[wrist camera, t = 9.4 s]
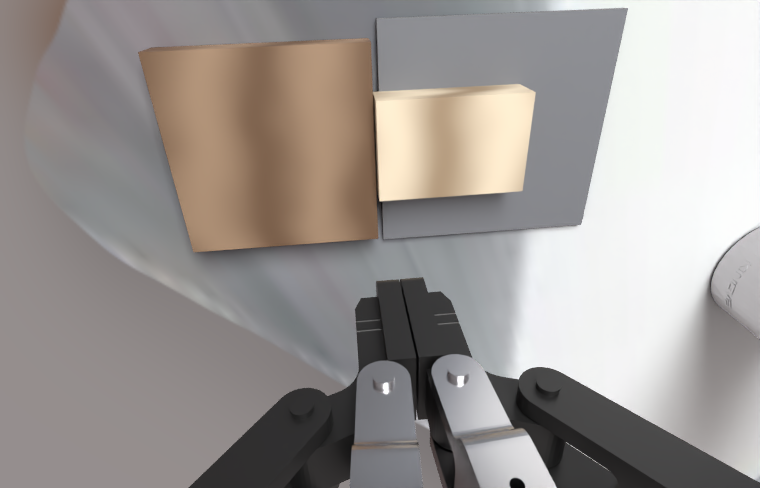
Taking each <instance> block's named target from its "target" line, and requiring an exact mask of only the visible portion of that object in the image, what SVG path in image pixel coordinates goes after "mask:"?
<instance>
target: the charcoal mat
mask: <svg viewBox="0 0 760 488" xmlns="http://www.w3.org/2000/svg"><path fill="white" fill-rule="evenodd" d="M627 10H628V8H614V9H589V10H565V11H540V12H516V13H492V14H467V15H443V16H418V17H394V18H376V32H377V64H378V92H381V91H399V90H418V89H436V88H454V87H473V86H491V85H509V84H521V85H523V86H524V87H526V88H528V89H530V90H532V91H534V92H536V94H535V102H534V109H533V117H532V124H531V131H530V139H529V146H528V154H527V161H526V169H525V176H524V183H523V191H519V192H505V193H491V194H476V195H462V196H448V197H434V198H420V199H406V200H392V201H382V222H383V239H395V238H409V237H422V236H435V235H449V234H462V233H475V232H489V231H502V230H516V229H529V228H542V227H556V226H569V225H581V223H582V219H583V214H584V209H585V205H586V200H587V195H588V191H589V186H590V182H591V177H592V172H593V168H594V163H595V158H596V154H597V149H598V144H599V140H600V135H601V131H602V126H603V121H604V117H605V112H606V107H607V103H608V98H609V94H610V89H611V84H612V80H613V75H614V70H615V66H616V61H617V57H618V52H619V47H620V43H621V38H622V33H623V29H624V24H625V20H626V15H627Z"/></svg>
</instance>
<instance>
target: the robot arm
mask: <svg viewBox="0 0 760 488" xmlns="http://www.w3.org/2000/svg"><path fill="white" fill-rule="evenodd" d="M376 292H377V297H371V298H361V300H360V301H359V303H358V305H357V307H356V309H355V313H356V329H357V344H358V360H359V372H358V375H357V377H356V379H355V380H354V382H353V383H352V384H351V385H350V386H348V387H347V388H346V389H344V390H342V391H340V392H338V393H335V394H332V395H330V396H326V395H325V394H324V393H323V392H321V391H319V390H317V389H312V388H302V389H297V390H294V391H292V392H290V393H288V394H286V395H285V396H284V397H282V398H281V399H280V400H279V401H278V402H277V403H276V404H275V405H274V406H273V407H272V408H271V409H270V410H269V411H268V412H267V413H266V414H265V415H264V416H262V418H260V420H258V421H257V422H256V423H255V424H254V425H253V426H252V427H251V428H250V429H249V430H248V431H247V432H246V433H245V434H244V435H243V436H242V437H241V438H240V439H239V440H238V441H237V442H236V443H234V444H233V445H232V446H231V447H230V448H229V449H228V450H227V451H226V452H225V453H224V454H223V455H222V456H221V457H220V458H219V459H218V460H217V461H216V462H215V463H214V464H213V465H212V466H211V467H210V468H209V469H208V470H207V471H206V472H204V473H203V474H202V475H201V476H200V477H199V478H198V479H197V480H196V481H195V482H194V483H193V484H192V485H191V486H190V487H189V488H338V487H339V484H340V483H341V482H343V481H346V480H348V479H350V488H423V482H422V471H421V462H420V451H419V444H418V442H417V439H416V429H415V420H416V410H417V415H418V420H421V419H428V423H429V428H430V447H431V450H432V453H433V457H434V460H435V464H436V467H437V470H438V473H439V477H440V480H441V484H442V487H443V488H760V483H759V482H757V481H755V480H753V479H752V478H750V477H748V476H746V475H744V474H743V473H741V472H739V471H737V470H735V469H734V468H732V467H730V466H728V465H726V464H725V463H723V462H721V461H719V460H717V459H716V458H714V457H712V456H710V455H708V454H707V453H705V452H703V451H701V450H699V449H698V448H696V447H694V446H692V445H690V444H689V443H687V442H685V441H683V440H681V439H680V438H678V437H676V436H674V435H672V434H671V433H669V432H667V431H665V430H663V429H662V428H660V427H658V426H656V425H654V424H653V423H651V422H649V421H647V420H645V419H644V418H642V417H640V416H638V415H636V414H635V413H633V412H631V411H629V410H627V409H626V408H624V407H622V406H620V405H618V404H617V403H615V402H613V401H611V400H609V399H608V398H606V397H604V396H602V395H600V394H599V393H597V392H595V391H593V390H591V389H590V388H588V387H586V386H584V385H582V384H581V383H579V382H577V381H575V380H573V379H572V378H570V377H568V376H566V375H564V374H563V373H561V372H559V371H556V370H554V369H550V368H544V367H536V368H531V369H528V370H526V371H525V372H523V373H522V375H521V376H520V378H519V380H518V379H512V378H506V377H500V376H496V375H493V374H490V373H488V372H486V371H485V370H484V369H483V367H482V365H481V364H480V363H479V362H477V361H476V360H475V359H473V358H472V356H471V353H470V351H469V348H468V345H467V343H466V340H465V337H464V335H463V332H462V329H461V327H460V324H459V322H458V319H457V316H456V314H455V311H454V308H453V305H452V303H451V301H450V300H449V299H448V298H447V297H446V296H445V295H444V294H443V293H442V292H430V293H428V292H427V288H426V285H425V282H424V279H423V277H422V278H410V279H400V282H399V279H398V280H386V281H376ZM711 293H712V296H713V299H714V300H715V302H716V303H717V305H719V306H720V307H721V308H722V309H723V310H725V311H726V312H727V313H728V314H729V315H731V316H732V317H733V318H734V319H736V320H737V321H738V322H739V323H740V324H742V325H743V326H744V327H745V328H747V329H748V330H749V331H750V332H751V333H753V334H754V335H755V336H756V337H757V338H758V339H759V340H760V227H759V228H757V229H756V230H754V231H752V232H751V233H749V234H747V235H746V236H745V237H743V238H742V239H741V240H739V241H738V242H737V243H736V244H735V245H734V246H733V247H732V248H731V249H730V250H729V251H728V252H727V253H726V254H725V256H724V257H723V258H722V260H721V261H720V262H719V264H718V266H717V268H716V270H715V272H714V275H713V278H712V282H711ZM566 442H567V443H569V444H570V445H572V446H573V447H575V448H576V449H578V450H579V451H578V450H576V449H575V448H573V447H572V446H570V445H569V444H567V443H566ZM580 451H581V452H582V453H581V452H580ZM583 453H584V454H585V455H584V454H583ZM586 455H587V456H588V457H587V456H586ZM589 457H590V458H591V459H590V458H589ZM592 459H593V460H595V461H596V462H598V463H599V464H601V465H602V466H604V467H605V468H607V469H608V470H609V471H608V470H607V469H605V468H604V467H602V466H601V465H599V464H598V463H596V462H595V461H593V460H592Z"/></svg>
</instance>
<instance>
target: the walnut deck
mask: <svg viewBox="0 0 760 488" xmlns="http://www.w3.org/2000/svg"><path fill="white" fill-rule="evenodd" d="M138 54H139V57H140V61H141V64H142V68H143V72H144V75H145V79H146V82H147V86H148V90H149V93H150V97H151V100H152V104H153V108H154V111H155V115H156V119H157V122H158V126H159V129H160V133H161V137H162V140H163V144H164V147H165V151H166V155H167V158H168V162H169V165H170V169H171V173H172V176H173V180H174V183H175V187H176V191H177V194H178V198H179V202H180V205H181V209H182V212H183V216H184V220H185V223H186V227H187V230H188V234H189V238H190V241H191V245H192V248H193V252H204V251H217V250H231V249H244V248H258V247H271V246H284V245H298V244H311V243H325V242H338V241H352V240H365V239H378V221H377V195H376V168H375V142H374V115H373V89H372V63H371V42H370V40H369V39H368V38H360V39H337V40H315V41H292V42H269V43H246V44H224V45H201V46H178V47H155V48H149V49H146V50H143V51H140V52H138Z"/></svg>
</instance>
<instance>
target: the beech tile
mask: <svg viewBox="0 0 760 488" xmlns="http://www.w3.org/2000/svg"><path fill="white" fill-rule="evenodd" d="M535 94H536V92H534V91H532V90H530V89H528V88H526V87H524V86H523V85H521V84H509V85H491V86H473V87H454V88H436V89H418V90H399V91H381V92H373V115H374V142H375V168H376V188H377V192H378V196H379V201H392V200H406V199H420V198H434V197H448V196H462V195H476V194H491V193H505V192H519V191H523V183H524V176H525V169H526V161H527V154H528V146H529V139H530V131H531V124H532V117H533V109H534V102H535Z"/></svg>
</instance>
